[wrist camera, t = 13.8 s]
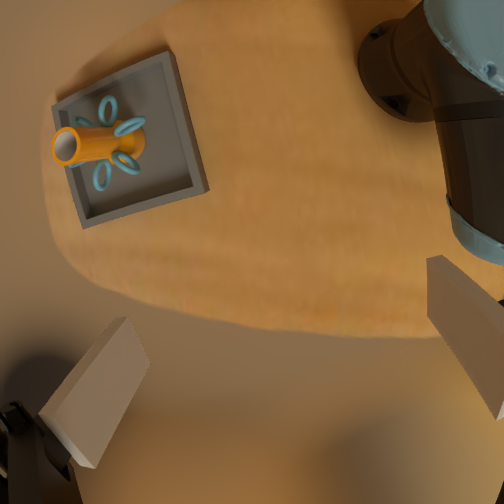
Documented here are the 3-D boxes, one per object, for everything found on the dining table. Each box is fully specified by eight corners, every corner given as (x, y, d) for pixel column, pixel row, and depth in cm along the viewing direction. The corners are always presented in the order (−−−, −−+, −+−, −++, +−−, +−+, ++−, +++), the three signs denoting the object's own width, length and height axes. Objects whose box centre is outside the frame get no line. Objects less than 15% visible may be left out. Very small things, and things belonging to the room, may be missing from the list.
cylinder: (101, 100, 39) (36, 91, 25) (166, 100, 39) (113, 84, 25) (94, 180, 43) (29, 200, 29) (156, 187, 43) (102, 210, 29)
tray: (174, 55, 37) (167, 50, 35) (209, 189, 43) (204, 193, 40) (62, 107, 40) (51, 106, 38) (92, 224, 46) (82, 229, 44)
